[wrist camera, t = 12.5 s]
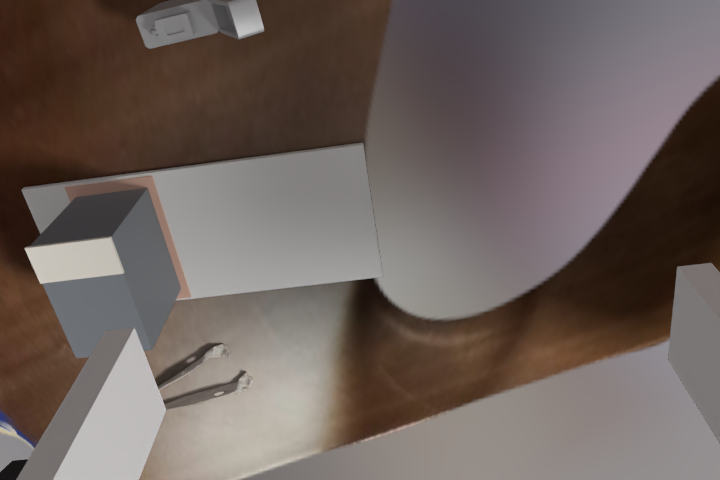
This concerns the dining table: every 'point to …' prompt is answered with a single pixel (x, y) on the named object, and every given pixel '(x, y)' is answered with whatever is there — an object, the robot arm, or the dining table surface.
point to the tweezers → (208, 395)
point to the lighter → (198, 20)
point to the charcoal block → (107, 268)
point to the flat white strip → (251, 219)
